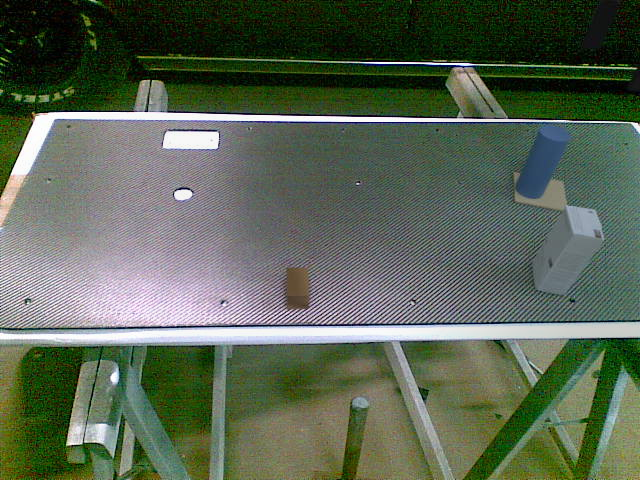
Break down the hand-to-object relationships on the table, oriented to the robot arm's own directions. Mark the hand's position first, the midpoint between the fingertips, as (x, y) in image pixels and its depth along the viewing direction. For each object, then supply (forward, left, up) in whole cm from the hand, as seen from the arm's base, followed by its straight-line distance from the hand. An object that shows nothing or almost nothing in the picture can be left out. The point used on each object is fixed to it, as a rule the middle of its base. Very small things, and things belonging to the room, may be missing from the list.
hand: (611, 67), depth 68 cm
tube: (+3, +2, -18) cm, 18 cm away
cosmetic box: (-20, +1, -25) cm, 32 cm away
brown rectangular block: (-34, +36, -24) cm, 56 cm away
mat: (+2, +1, -24) cm, 25 cm away
